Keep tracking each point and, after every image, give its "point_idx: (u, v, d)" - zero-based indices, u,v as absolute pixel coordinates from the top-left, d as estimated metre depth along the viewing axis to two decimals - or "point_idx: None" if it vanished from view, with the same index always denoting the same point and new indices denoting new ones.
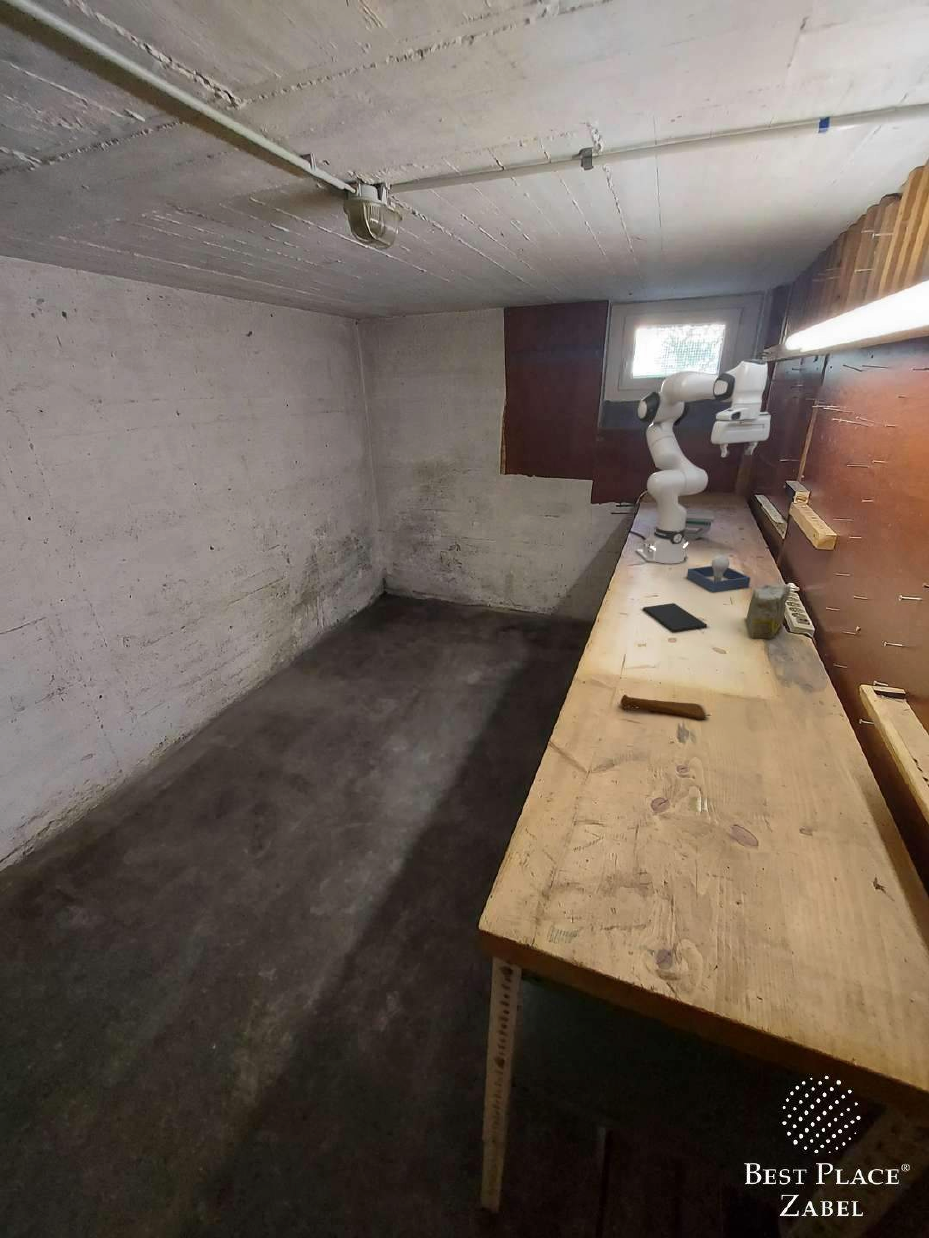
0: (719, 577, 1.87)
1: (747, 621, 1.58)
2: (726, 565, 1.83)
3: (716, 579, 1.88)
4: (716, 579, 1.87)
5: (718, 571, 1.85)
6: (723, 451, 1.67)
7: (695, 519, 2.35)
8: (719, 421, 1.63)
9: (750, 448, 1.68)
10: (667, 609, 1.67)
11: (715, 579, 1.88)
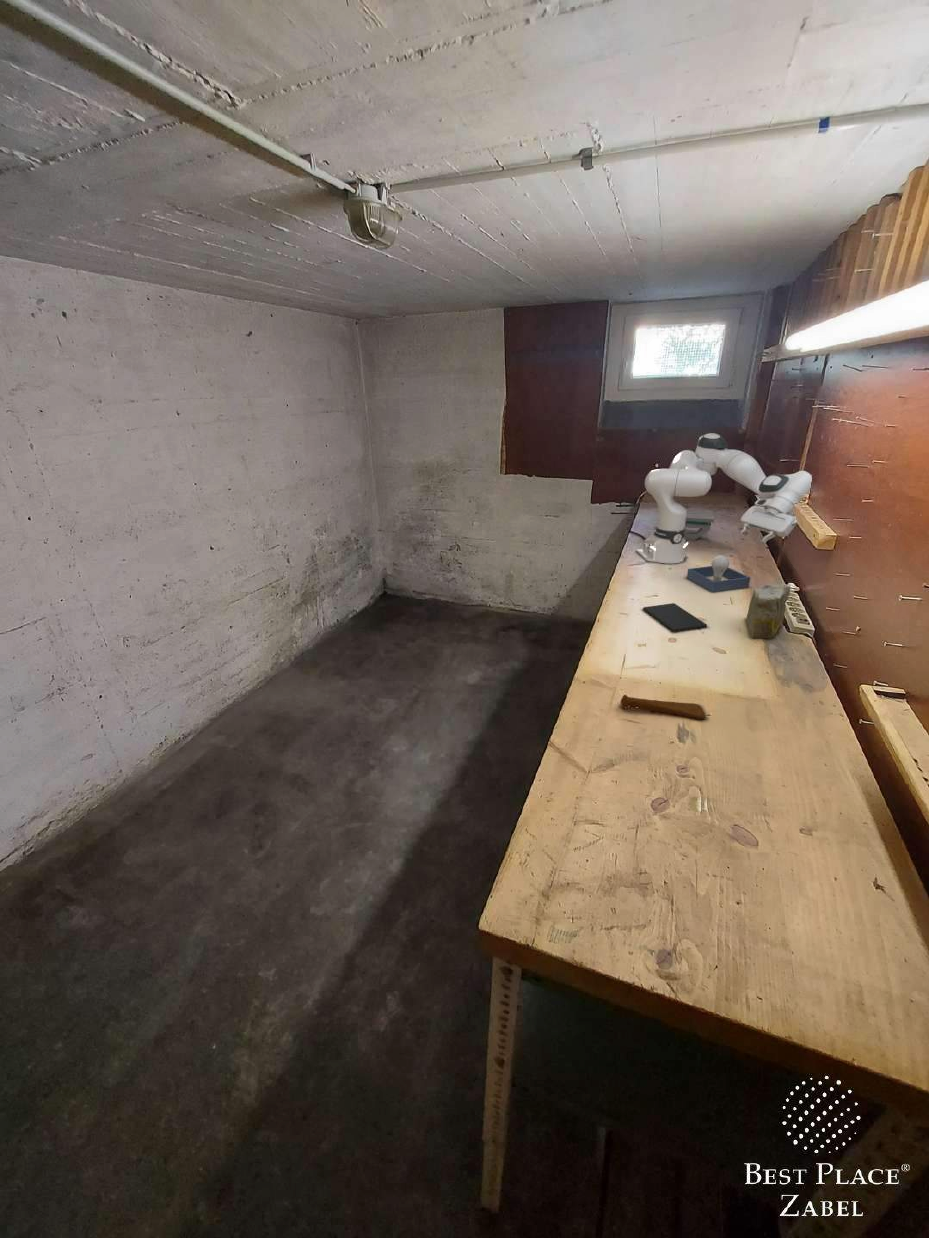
0: (719, 577, 1.87)
1: (747, 621, 1.58)
2: (726, 565, 1.83)
3: (716, 579, 1.88)
4: (716, 579, 1.87)
5: (718, 571, 1.85)
6: None
7: (695, 519, 2.35)
8: None
9: None
10: (667, 609, 1.67)
11: (715, 579, 1.88)
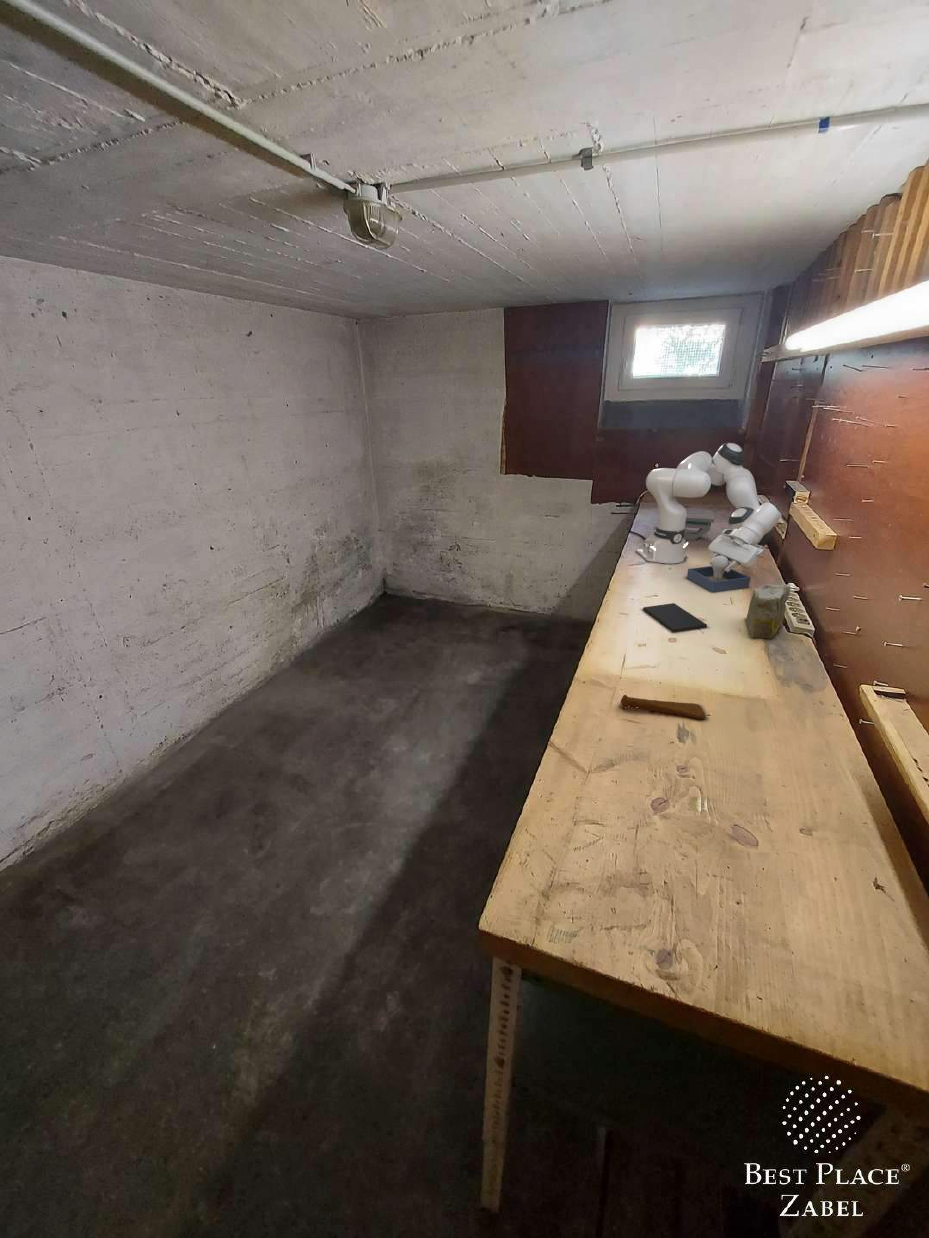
0: (719, 577, 1.87)
1: (747, 621, 1.58)
2: None
3: (716, 579, 1.88)
4: (716, 579, 1.87)
5: (718, 571, 1.85)
6: None
7: (695, 519, 2.35)
8: None
9: None
10: (667, 609, 1.67)
11: (715, 579, 1.88)
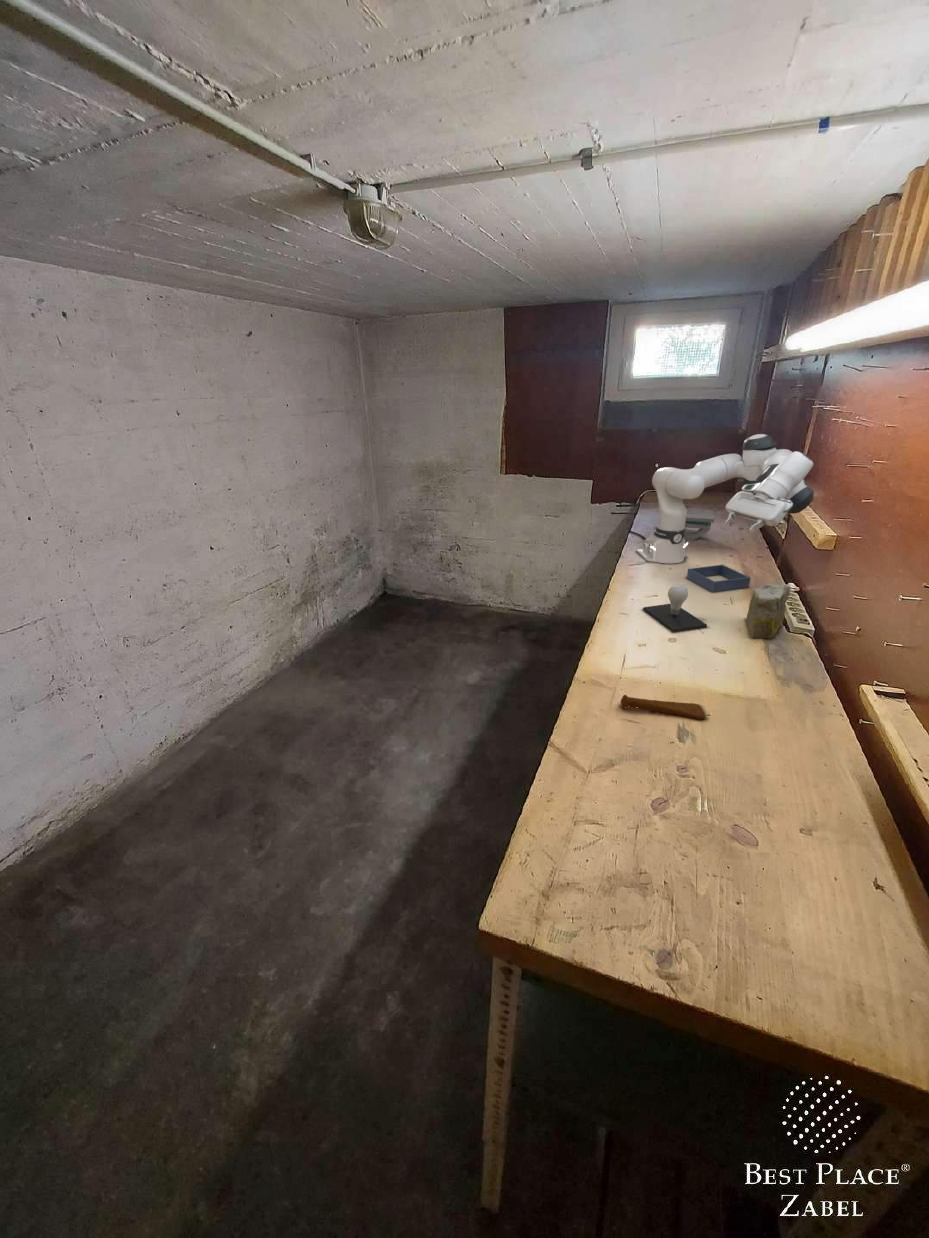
0: (677, 610, 1.60)
1: (747, 621, 1.58)
2: (684, 596, 1.57)
3: (673, 612, 1.61)
4: (674, 611, 1.61)
5: (675, 603, 1.59)
6: None
7: (695, 519, 2.35)
8: None
9: None
10: (667, 609, 1.67)
11: (672, 612, 1.61)
